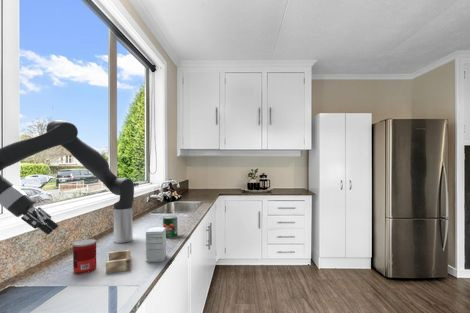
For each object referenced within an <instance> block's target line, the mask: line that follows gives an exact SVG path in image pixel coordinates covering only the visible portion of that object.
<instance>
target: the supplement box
mask: <svg viewBox="0 0 470 313" xmlns="http://www.w3.org/2000/svg"><path fill="white" fill-rule="evenodd" d="M145 257H146V260H145V261H146V263H151V262H152V263H155V262H156V263H157V262H164V261H165V259H166V257H167V239H166V227H163V226H162V227H159V226H158V227H148V229H147V230H146V231H145Z"/></svg>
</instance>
